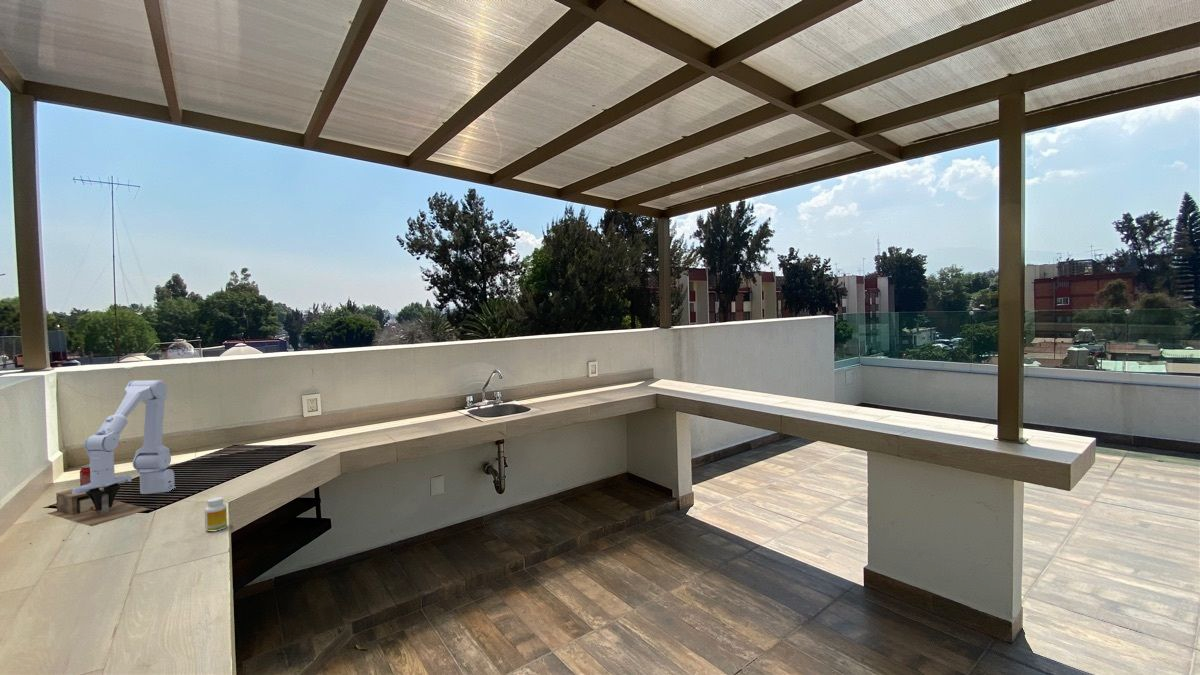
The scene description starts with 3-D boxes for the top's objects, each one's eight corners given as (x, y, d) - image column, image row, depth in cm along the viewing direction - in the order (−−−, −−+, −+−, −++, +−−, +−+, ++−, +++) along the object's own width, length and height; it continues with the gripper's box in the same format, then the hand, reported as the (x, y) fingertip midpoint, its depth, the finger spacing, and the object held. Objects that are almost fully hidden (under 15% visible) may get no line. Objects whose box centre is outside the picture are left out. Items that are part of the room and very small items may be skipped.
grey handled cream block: (71, 510, 165) (70, 493, 165) (94, 503, 171) (93, 487, 171) (93, 516, 160) (92, 498, 160) (116, 509, 166) (116, 492, 166)
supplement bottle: (230, 527, 154) (229, 497, 154) (211, 533, 150) (210, 503, 149) (221, 524, 157) (220, 494, 156) (201, 530, 152) (200, 500, 152)
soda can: (89, 499, 178) (88, 467, 177) (75, 498, 179) (74, 466, 178) (111, 493, 184) (110, 462, 184) (97, 491, 186) (96, 461, 185)
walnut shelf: (46, 516, 163) (45, 495, 162) (105, 500, 177) (104, 481, 176) (91, 529, 152) (91, 506, 152) (150, 511, 166) (149, 491, 166)
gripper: (79, 477, 155) (80, 518, 155) (136, 464, 168) (137, 502, 169) (67, 474, 157) (69, 515, 158) (124, 462, 171) (125, 499, 171)
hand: (103, 508), depth 163 cm, fingers closed on grey handled cream block
